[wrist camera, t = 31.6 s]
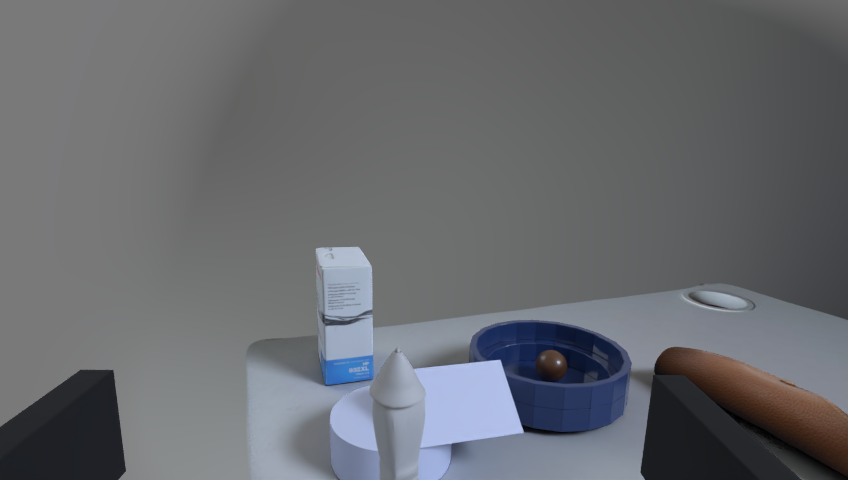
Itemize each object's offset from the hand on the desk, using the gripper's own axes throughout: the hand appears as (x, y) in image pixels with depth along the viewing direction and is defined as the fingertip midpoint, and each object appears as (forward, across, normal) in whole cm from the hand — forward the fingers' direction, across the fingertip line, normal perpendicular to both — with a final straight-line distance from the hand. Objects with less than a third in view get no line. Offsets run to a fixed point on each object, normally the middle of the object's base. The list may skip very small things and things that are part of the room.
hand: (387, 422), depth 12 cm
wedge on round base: (+22, +1, -17) cm, 28 cm away
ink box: (+36, -6, -17) cm, 41 cm away
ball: (+32, +14, -15) cm, 38 cm away
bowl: (+31, +13, -17) cm, 37 cm away
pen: (+10, 0, -17) cm, 19 cm away
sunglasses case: (+26, +32, -17) cm, 44 cm away
